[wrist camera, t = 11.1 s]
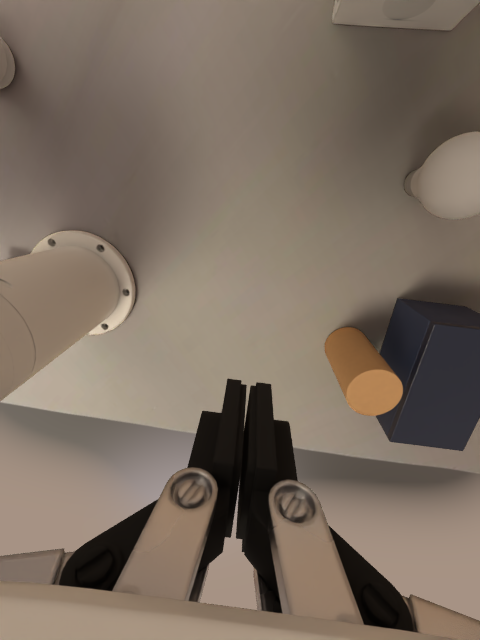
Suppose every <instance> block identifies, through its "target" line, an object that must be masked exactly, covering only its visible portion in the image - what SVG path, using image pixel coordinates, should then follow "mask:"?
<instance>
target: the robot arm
mask: <svg viewBox="0 0 480 640" xmlns="http://www.w3.org/2000/svg"><path fill="white" fill-rule="evenodd" d="M102 246H103V247H104V249H103V248H102ZM127 289H128V290H129V292H128V291H127ZM134 301H135V283H134V278H133V275H132V272H131V269H130V267H129V266H128V264H127V262H126V260H125V259H124V258H123V256H122V255H121V254H120V253H119V251H118V250H117V249H115V248H114V247H113V246H112V245H111V244H110V243H108V242H107V241H105V240H104V239H102V238H101V237H98V236H96V235H94V234H91V233H88V232H83V231H76V230H68V231H61V232H57V233H54V234H50V235H49V236H47V237H45V238H44V239H42V240H41V241H40V242H39V243H38V244H37V245H36V246H35V247H34V249H33V251H32V252H31V254H28V255H24V256H20V257H15V258H11V259H7V260H2V261H0V401H1V400H3V399H4V398H5V397H6V396H8V395H9V394H10V393H12V392H13V391H14V390H15V389H17V388H18V387H19V386H21V385H22V384H23V383H25V382H26V381H27V380H28V379H30V378H31V377H32V376H34V375H35V374H36V373H37V372H39V371H40V370H41V369H43V368H44V367H45V366H46V365H48V364H49V363H50V362H52V361H53V360H54V359H55V358H57V357H58V356H59V355H61V354H62V353H63V352H64V351H66V350H67V349H68V348H69V347H71V346H72V345H73V344H75V343H76V342H77V341H78V340H80V339H81V338H82V337H84V336H85V335H98V334H104V333H106V332H109V331H111V330H113V329H115V328H116V327H118V326H119V325H120V324H121V323H122V322H124V320H125V319H126V318H127V317H128V316H129V314H130V312H131V310H132V308H133V305H134ZM245 402H246V385H243V384H241V380H234V379H227V385H226V391H225V397H224V403H223V409H222V413H216V412H208V411H202V414H201V418H200V422H199V426H198V429H197V433H196V437H195V441H194V445H193V448H192V453H191V456H190V460H189V464H188V467H187V468H185V469H182V470H180V471H178V472H176V473H175V474H174V475H172V477H171V478H170V479H169V480H168V482H167V484H166V485H165V487H164V489H163V492H162V494H161V495H160V497H159V499H158V500H156V501H154V502H153V503H151V504H149V505H148V506H146V507H144V508H143V509H141V510H140V511H138V512H136V513H135V514H133V515H132V516H130V517H128V518H127V519H125V520H123V521H121V522H120V523H118V524H117V525H115V526H114V527H112V528H110V529H108V530H107V531H105V532H103V533H102V534H100V535H98V536H97V537H95V538H94V539H92V540H90V541H89V542H87V543H85V544H84V545H83V546H81V547H80V548H79V549H77V550H76V551H75V552H67V553H64V549H55V550H47V551H39V552H30V553H21V554H13V555H5V556H0V640H480V621H479V620H476V619H473V618H471V617H468V616H466V615H463V614H460V613H458V612H455V611H453V610H450V609H447V608H445V607H442V606H440V605H437V604H435V603H432V602H430V601H427V600H424V599H422V598H419V597H417V596H414V595H410V597H409V598H407V597H404V596H401V594H400V593H399V592H398V591H397V590H396V588H395V587H393V585H392V584H391V583H390V582H389V581H388V580H387V579H386V578H384V577H383V576H382V575H381V574H380V573H379V572H378V571H377V570H376V569H375V568H374V567H373V566H371V565H370V564H369V563H368V562H367V561H366V560H365V559H364V558H363V557H362V556H361V555H360V554H359V553H358V552H356V551H355V550H354V549H353V548H352V547H351V546H350V545H349V544H348V543H347V542H346V541H345V540H344V539H343V538H341V537H340V536H339V535H338V534H337V533H336V532H335V531H334V530H333V529H332V528H331V527H330V526H328V523H327V521H326V518H325V515H324V512H323V510H322V507H321V504H320V502H319V500H318V498H317V496H316V494H315V493H314V492H313V491H312V490H311V489H310V488H309V487H307V486H306V485H305V484H303V483H300V482H298V481H297V474H296V467H295V460H294V453H293V446H292V439H291V432H290V425H289V422H287V421H279V420H274V418H273V405H272V391H271V384H265V383H256V386H251V387H250V394H249V401H248V407H247V414H246V421H245V428H244V419H245ZM239 480H240V485H239ZM238 486H239V500H238V516H237V532H236V538H237V539H242V552H245V554H244V555H245V556H246V557H247V559H248V560H249V561H250V563H251V564H252V565H253V567H254V584H255V592H256V601H257V609H258V610H251V609H244V608H237V607H229V606H222V605H214V604H206V603H200V599H201V595H202V591H203V587H204V584H205V580H206V577H207V573H208V568H209V563H210V562H212V561H213V560H214V559H215V558H216V557H217V556H219V555H220V554H221V553H222V552H223V545H224V538H225V537H229V538H230V537H231V533H232V525H233V519H234V513H235V506H236V500H237V493H238Z"/></svg>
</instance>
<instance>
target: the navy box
mask: <svg viewBox="0 0 480 640" xmlns="http://www.w3.org/2000/svg"><path fill="white" fill-rule="evenodd" d="M380 355H381V356H382V358H383V359H384V360H385V361H386V363H387V364H388V365H389V366H390V368H391V369H392V370H393V371H394V373H395V374H396V375H397V376H398V378H399V379H400V380H401V382H402V386H403V394H402V397H401V399H400V401H399V403H398V404H397V405H396V406H395V407H394V408H393V409H391V410H390V411H388V412H386V413H383V414H380V415H376V417H377V419H378V421H379V423H380V425H381V426H382V428H383V430H384V432H385V434H386V435H387V437H388V439H389V441H390V442H396V443H404V444H412V445H420V446H428V447H435V448H443V449H451V450H459V451H463V450H464V448H465V446H466V444H467V442H468V440H469V438H470V436H471V434H472V432H473V430H474V428H475V426H476V424H477V422H478V420H479V418H480V314H479V313H477V312H475V311H473V310H471V309H469V308H468V307H465V306H457V305H449V304H441V303H433V302H425V301H416V300H408V299H400V298H397V301H396V304H395V307H394V311H393V314H392V317H391V320H390V323H389V326H388V329H387V332H386V336H385V339H384V342H383V345H382V348H381V351H380Z"/></svg>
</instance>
